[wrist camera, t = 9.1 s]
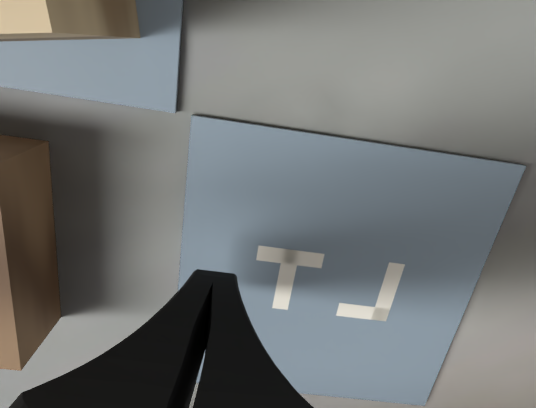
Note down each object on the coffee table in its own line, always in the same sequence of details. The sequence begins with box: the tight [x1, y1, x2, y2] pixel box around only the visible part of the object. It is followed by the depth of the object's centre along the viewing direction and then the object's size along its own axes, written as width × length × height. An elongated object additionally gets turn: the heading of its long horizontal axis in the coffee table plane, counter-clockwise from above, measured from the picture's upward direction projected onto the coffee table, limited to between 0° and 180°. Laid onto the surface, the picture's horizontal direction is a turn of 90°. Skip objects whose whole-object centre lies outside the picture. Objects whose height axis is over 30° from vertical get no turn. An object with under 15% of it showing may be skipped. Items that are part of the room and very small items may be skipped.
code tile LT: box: [178, 115, 526, 406], centre depth 14 cm, size 11×11×1 cm
